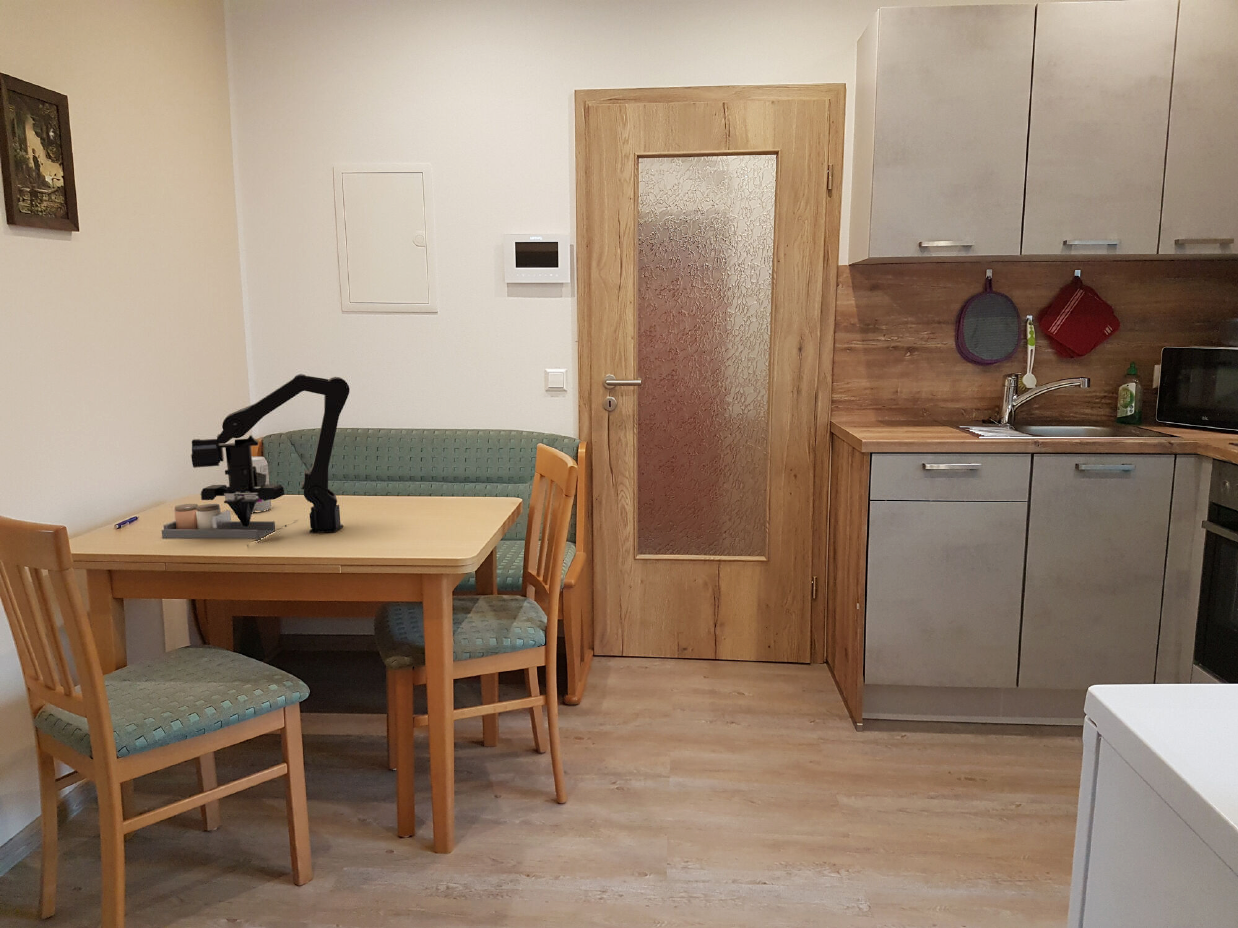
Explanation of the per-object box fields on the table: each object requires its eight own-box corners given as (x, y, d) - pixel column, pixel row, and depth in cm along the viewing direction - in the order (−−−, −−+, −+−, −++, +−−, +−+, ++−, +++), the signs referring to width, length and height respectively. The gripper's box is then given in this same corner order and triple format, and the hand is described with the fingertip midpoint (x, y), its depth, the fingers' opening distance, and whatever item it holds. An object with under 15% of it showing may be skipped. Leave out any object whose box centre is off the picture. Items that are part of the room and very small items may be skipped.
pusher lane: (275, 532, 215) (274, 517, 215) (257, 542, 206) (256, 526, 205) (184, 532, 217) (183, 517, 216) (162, 542, 208) (161, 526, 207)
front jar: (205, 530, 215) (203, 503, 213) (193, 536, 209) (190, 508, 208) (185, 530, 215) (182, 503, 214) (172, 536, 210) (169, 508, 208)
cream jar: (226, 530, 214) (224, 503, 213) (215, 536, 209) (212, 508, 208) (205, 530, 215) (203, 503, 213) (193, 536, 209) (191, 508, 208)
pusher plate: (231, 529, 215) (230, 510, 214) (217, 536, 208) (215, 516, 207) (228, 529, 215) (226, 510, 214) (213, 536, 208) (211, 516, 207)
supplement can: (250, 515, 236) (245, 461, 233) (234, 511, 241) (229, 459, 238) (277, 509, 242) (272, 457, 240) (261, 506, 247) (256, 455, 245)
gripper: (291, 458, 215) (296, 518, 218) (220, 459, 217) (227, 518, 219) (270, 466, 204) (276, 529, 207) (196, 466, 206) (203, 529, 208)
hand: (246, 526), depth 211 cm, fingers closed
